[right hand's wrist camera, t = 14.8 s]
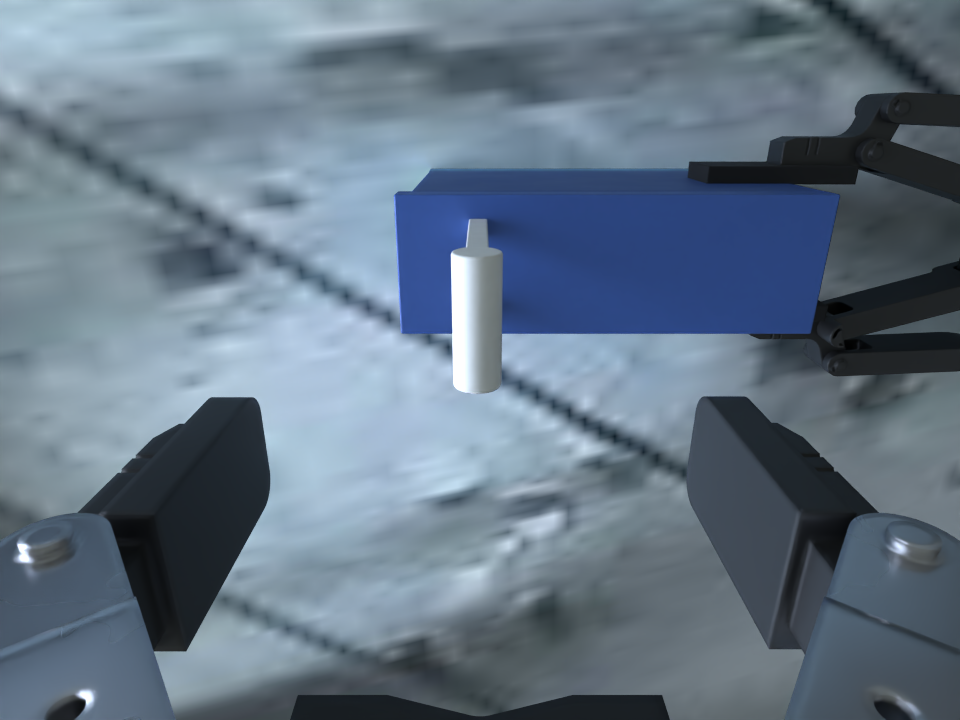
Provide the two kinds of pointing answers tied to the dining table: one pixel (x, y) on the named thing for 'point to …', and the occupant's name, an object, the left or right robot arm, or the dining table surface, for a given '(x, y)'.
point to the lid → (605, 265)
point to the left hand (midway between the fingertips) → (689, 241)
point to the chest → (580, 181)
